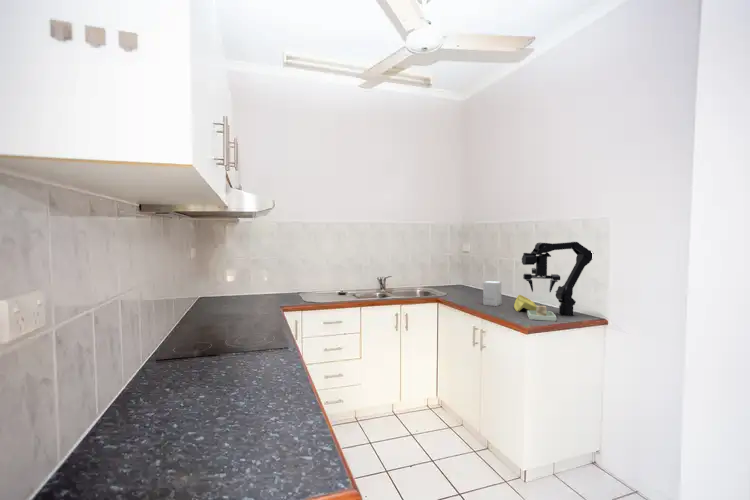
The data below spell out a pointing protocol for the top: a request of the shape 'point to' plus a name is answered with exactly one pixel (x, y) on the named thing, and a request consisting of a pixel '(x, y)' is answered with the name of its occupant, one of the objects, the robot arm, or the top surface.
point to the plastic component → (524, 303)
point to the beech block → (540, 310)
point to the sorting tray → (549, 316)
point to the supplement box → (492, 293)
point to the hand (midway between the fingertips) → (541, 292)
